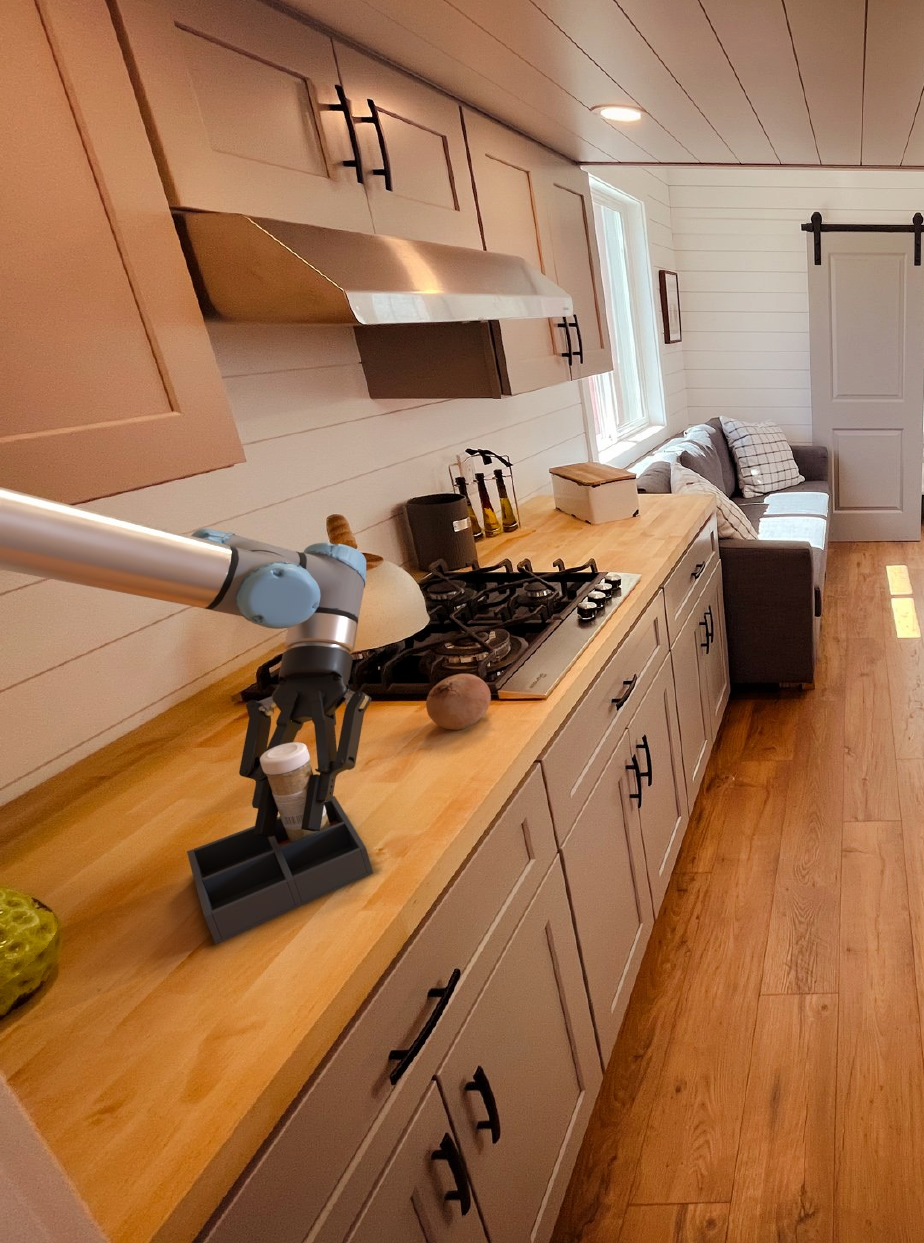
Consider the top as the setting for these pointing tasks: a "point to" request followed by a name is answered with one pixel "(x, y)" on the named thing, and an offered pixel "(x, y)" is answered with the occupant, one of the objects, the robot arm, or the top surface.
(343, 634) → the robot arm
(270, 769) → the spice jar
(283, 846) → the grid
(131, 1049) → the top surface
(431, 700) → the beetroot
